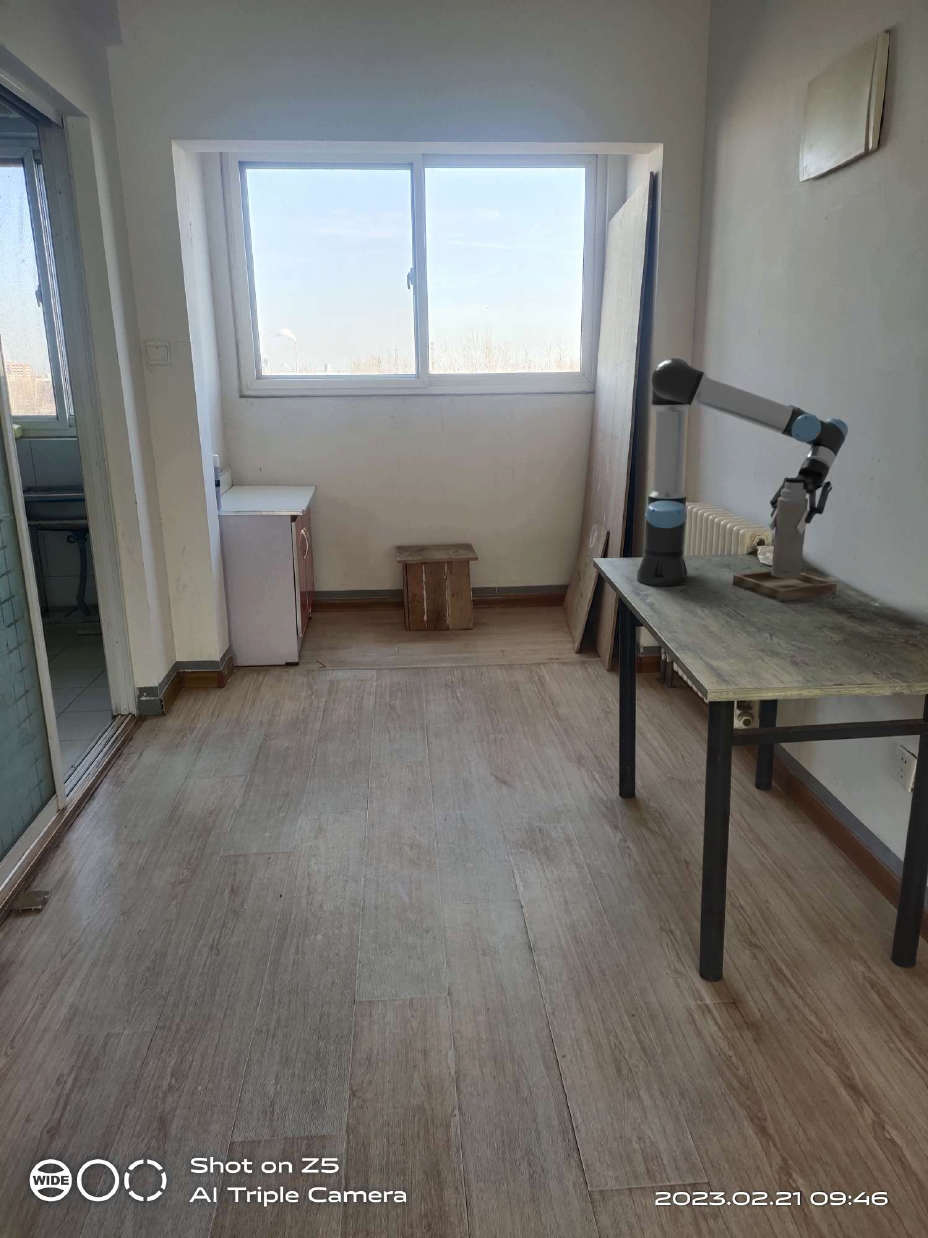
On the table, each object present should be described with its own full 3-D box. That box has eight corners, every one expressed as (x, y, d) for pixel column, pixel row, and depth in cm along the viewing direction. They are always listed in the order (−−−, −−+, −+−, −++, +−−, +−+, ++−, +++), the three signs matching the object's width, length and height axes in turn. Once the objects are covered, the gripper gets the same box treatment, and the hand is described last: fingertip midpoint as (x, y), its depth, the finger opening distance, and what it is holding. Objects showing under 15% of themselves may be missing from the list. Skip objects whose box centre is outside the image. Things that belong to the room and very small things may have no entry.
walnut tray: (732, 584, 249) (733, 574, 248) (785, 577, 256) (786, 568, 255) (780, 601, 231) (781, 591, 231) (835, 593, 239) (836, 583, 238)
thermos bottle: (767, 576, 242) (776, 479, 234) (775, 570, 248) (784, 475, 240) (796, 579, 237) (805, 480, 229) (803, 573, 243) (813, 477, 235)
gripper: (855, 477, 237) (823, 541, 232) (785, 471, 252) (754, 532, 246) (849, 460, 232) (817, 525, 227) (779, 455, 247) (747, 516, 241)
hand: (785, 529), depth 236 cm, fingers closed on thermos bottle, 8 cm apart
